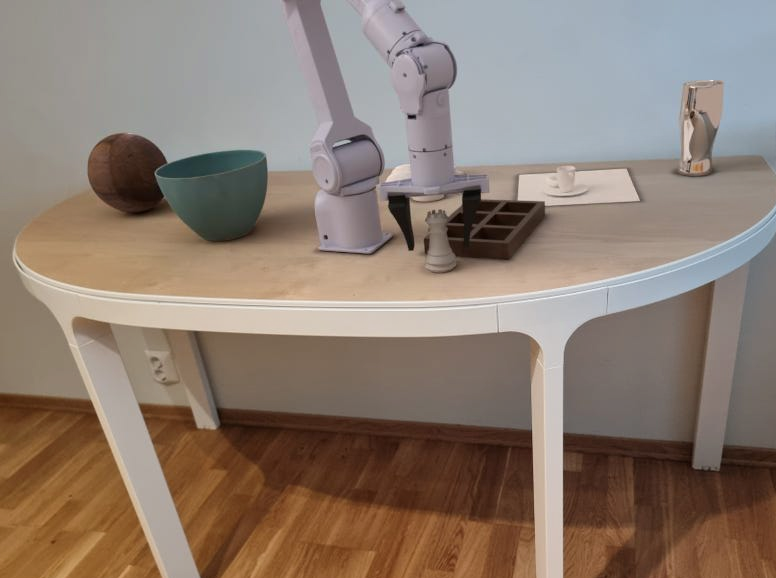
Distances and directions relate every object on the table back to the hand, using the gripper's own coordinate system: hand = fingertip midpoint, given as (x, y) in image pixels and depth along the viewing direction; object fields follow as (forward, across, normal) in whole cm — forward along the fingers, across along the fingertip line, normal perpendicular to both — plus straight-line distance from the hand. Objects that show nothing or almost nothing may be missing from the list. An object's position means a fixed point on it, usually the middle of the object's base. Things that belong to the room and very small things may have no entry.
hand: (439, 246), depth 97 cm
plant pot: (+3, -38, +22) cm, 44 cm away
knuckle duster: (+3, -5, +41) cm, 41 cm away
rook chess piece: (+3, 0, 0) cm, 3 cm away
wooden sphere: (+3, -62, +40) cm, 74 cm away
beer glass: (+3, +44, +38) cm, 58 cm away
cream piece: (+3, +22, +34) cm, 41 cm away
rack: (+3, +7, +12) cm, 15 cm away
